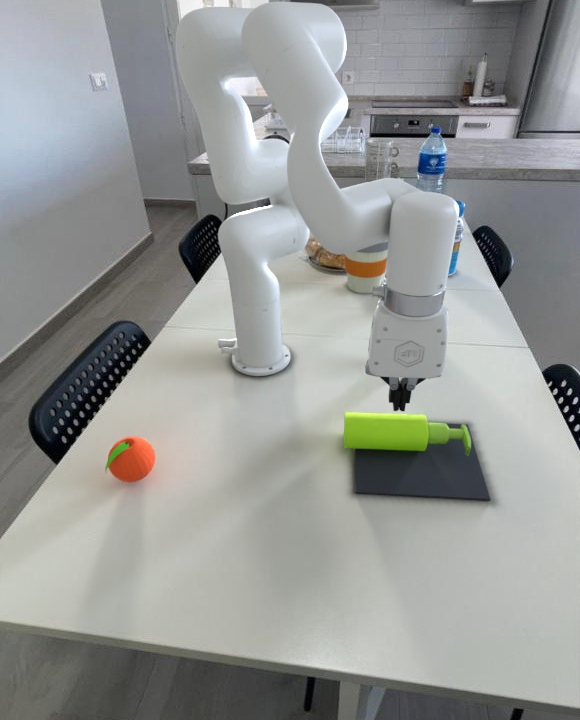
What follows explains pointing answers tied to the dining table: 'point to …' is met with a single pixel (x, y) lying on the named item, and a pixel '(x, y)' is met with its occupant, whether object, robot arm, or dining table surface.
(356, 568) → the dining table surface
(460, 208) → the beverage bottle
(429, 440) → the soap dispenser
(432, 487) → the placemat
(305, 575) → the dining table surface
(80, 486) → the dining table surface
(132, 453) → the clementine
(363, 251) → the reusable coffee cup
